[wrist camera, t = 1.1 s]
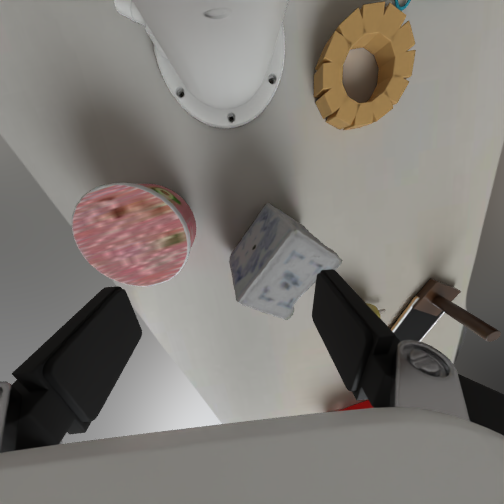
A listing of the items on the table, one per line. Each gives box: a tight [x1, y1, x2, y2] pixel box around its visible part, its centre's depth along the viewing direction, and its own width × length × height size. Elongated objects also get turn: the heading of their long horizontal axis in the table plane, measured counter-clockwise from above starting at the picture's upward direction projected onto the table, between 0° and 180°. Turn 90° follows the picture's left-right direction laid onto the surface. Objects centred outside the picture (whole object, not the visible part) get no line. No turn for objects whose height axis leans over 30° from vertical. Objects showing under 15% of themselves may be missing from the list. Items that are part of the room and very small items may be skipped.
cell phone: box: [391, 296, 445, 342], centre depth 37 cm, size 8×16×1 cm, turn 164°
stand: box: [409, 279, 501, 341], centre depth 30 cm, size 6×6×9 cm
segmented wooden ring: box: [314, 1, 415, 130], centre depth 20 cm, size 9×9×2 cm
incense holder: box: [229, 203, 342, 320], centre depth 23 cm, size 10×8×10 cm
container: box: [72, 183, 196, 286], centre depth 21 cm, size 10×10×8 cm
